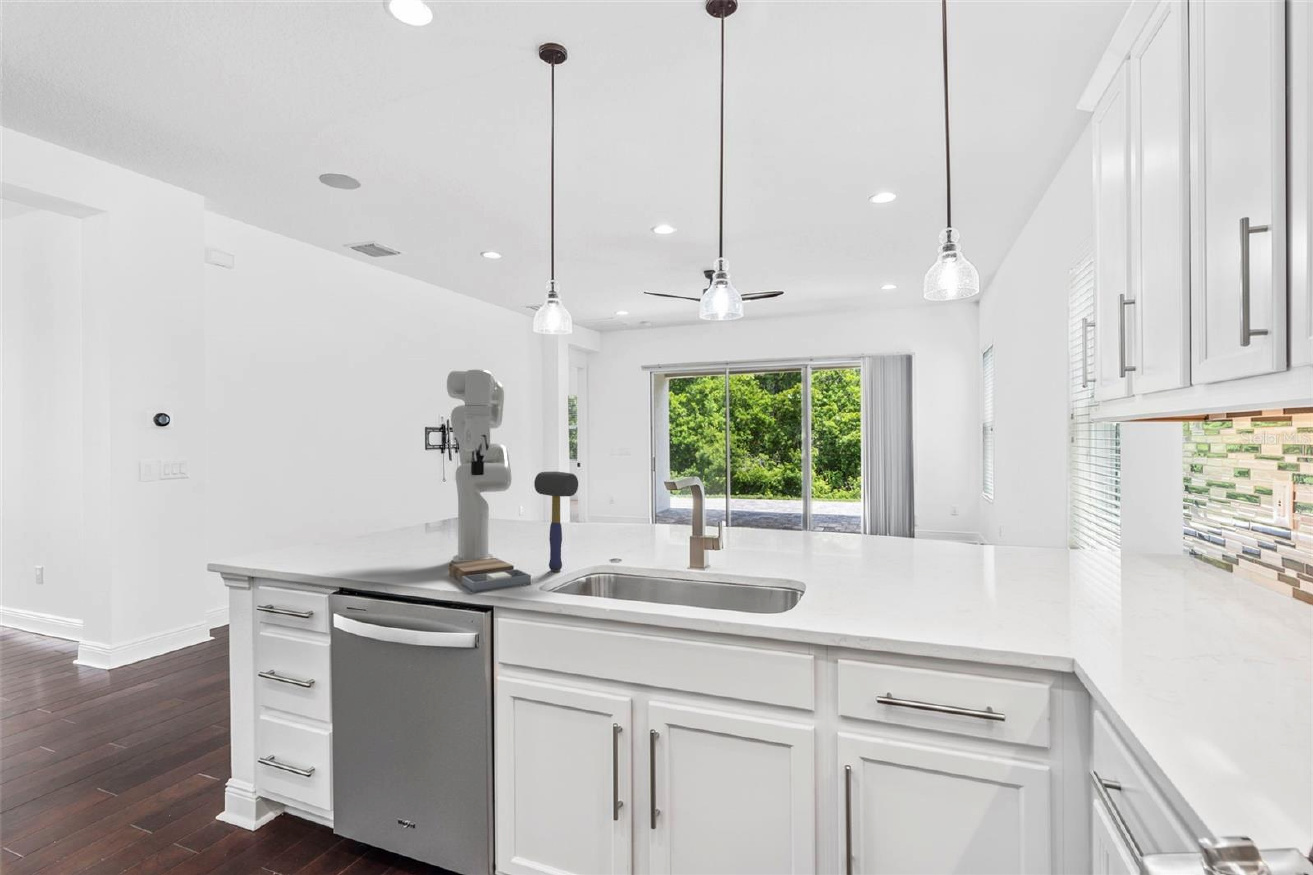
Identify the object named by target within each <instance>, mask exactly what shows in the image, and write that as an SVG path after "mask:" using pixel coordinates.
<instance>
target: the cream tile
mask: <svg viewBox="0 0 1313 875" xmlns="http://www.w3.org/2000/svg"><path fill="white" fill-rule="evenodd" d="M510 577H511V575H509V574H507V573H505V572H500V573H493V574H487V581H488V580H495V579H503V578H510Z"/></svg>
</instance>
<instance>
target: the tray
mask: <svg viewBox="0 0 1313 875" xmlns="http://www.w3.org/2000/svg"><path fill="white" fill-rule="evenodd" d="M500 572H505V573H507V574H509V575H511V577H510V578H503V579H495V580H488V581H487V574H493V573H500ZM531 581H532V575H531V574H529V573H527V572H525V571H522V570H520V569H518V568H515V569H514V570H507V571H499V572H492V573H484V574H476V575H468V576H462V583H461V585H462V587H463V588H466V589H467V590H468V591H470V592H472V593H479V592H486V591H493V590H501V589H508V588H512V587H513V588H514V586H515V587H519V586H520V587H522V586H526V585H527V586H528V585H531V584H532V582H531Z"/></svg>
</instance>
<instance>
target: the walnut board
mask: <svg viewBox="0 0 1313 875" xmlns="http://www.w3.org/2000/svg"><path fill="white" fill-rule="evenodd" d="M448 566H449V568H448V569H449V570H448V572H449V573H448V574H449V576H450V577H452V578H453V577H454V578H453V579H455V580H457V581H458V582H460V583H461V584H462V576H468V575H476V574H484V573H492V572H499V571H507V570H515V569H514V565H513V564H511V563H508V562H506V561H504V560H501V559H499V558H497V557H493V558H490V559H481V560H473V561H464V562H450V563H449V565H448Z"/></svg>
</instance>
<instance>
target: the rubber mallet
mask: <svg viewBox="0 0 1313 875" xmlns="http://www.w3.org/2000/svg"><path fill="white" fill-rule="evenodd" d="M533 485H534V489H535V491H536V493H538V494H539V495H544V496H550V497H551V522H550V526H549V527H550V528H549V539H548V540H549V546H550V550H549V551H550V553H549V556H550V557H549V562H548V567H549V570H550V571H551V572H554V573H556V572H560V571H561V569H562V567H563V562H562V541H563V531H562V523H561V497H572V496H574V495H575V494H576V493H577V491H578V489H579V480H578V477H577V475H575V474H574V473H569V472H564V471H563V472H562V471H541V472H539V473H538V474H537V475H536V477H535V479H534V484H533Z"/></svg>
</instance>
